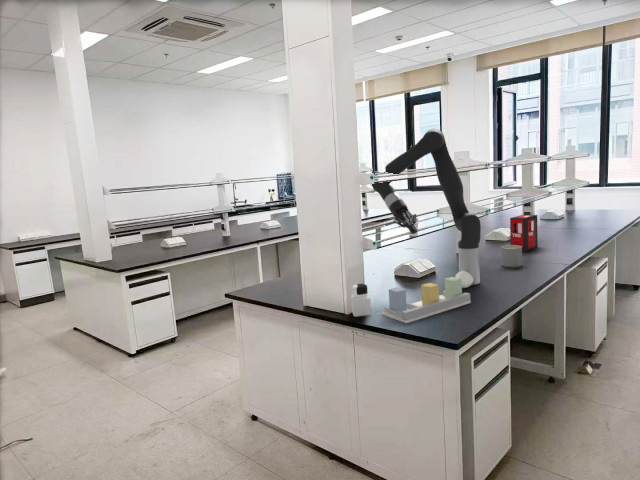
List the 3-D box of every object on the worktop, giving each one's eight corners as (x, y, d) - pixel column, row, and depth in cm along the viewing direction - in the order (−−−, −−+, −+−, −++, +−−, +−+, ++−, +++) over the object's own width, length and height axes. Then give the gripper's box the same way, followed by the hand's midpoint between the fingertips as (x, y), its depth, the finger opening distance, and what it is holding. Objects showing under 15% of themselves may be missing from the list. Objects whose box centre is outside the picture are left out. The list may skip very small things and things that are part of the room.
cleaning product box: (524, 251, 274) (524, 218, 271) (510, 249, 281) (510, 218, 278) (537, 246, 285) (537, 215, 282) (523, 245, 292) (523, 214, 288)
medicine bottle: (369, 309, 188) (367, 281, 186) (371, 315, 181) (369, 286, 179) (351, 311, 188) (349, 283, 186) (353, 316, 181) (351, 287, 179)
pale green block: (445, 299, 189) (444, 278, 188) (452, 297, 192) (452, 276, 190) (454, 302, 185) (453, 280, 184) (462, 299, 187) (461, 278, 186)
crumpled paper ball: (460, 290, 205) (460, 274, 204) (451, 286, 212) (451, 270, 211) (476, 288, 207) (475, 271, 206) (466, 284, 214) (466, 268, 213)
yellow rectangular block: (422, 306, 183) (421, 284, 181) (430, 304, 185) (429, 282, 184) (431, 309, 179) (430, 287, 177) (439, 306, 181) (438, 284, 179)
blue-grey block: (389, 311, 180) (388, 289, 179) (398, 308, 183) (397, 287, 181) (398, 314, 176) (396, 291, 175) (406, 311, 178) (405, 289, 177)
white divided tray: (382, 314, 181) (381, 304, 180) (445, 296, 198) (444, 287, 198) (406, 323, 169) (405, 313, 169) (470, 302, 187) (470, 293, 186)
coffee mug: (516, 268, 236) (516, 249, 235) (498, 266, 244) (498, 247, 242) (528, 263, 245) (528, 244, 243) (510, 261, 252) (510, 243, 251)
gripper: (387, 200, 205) (407, 229, 196) (410, 197, 211) (430, 225, 203) (381, 211, 210) (400, 240, 201) (403, 208, 217) (422, 235, 208)
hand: (415, 232), depth 202 cm, fingers closed
